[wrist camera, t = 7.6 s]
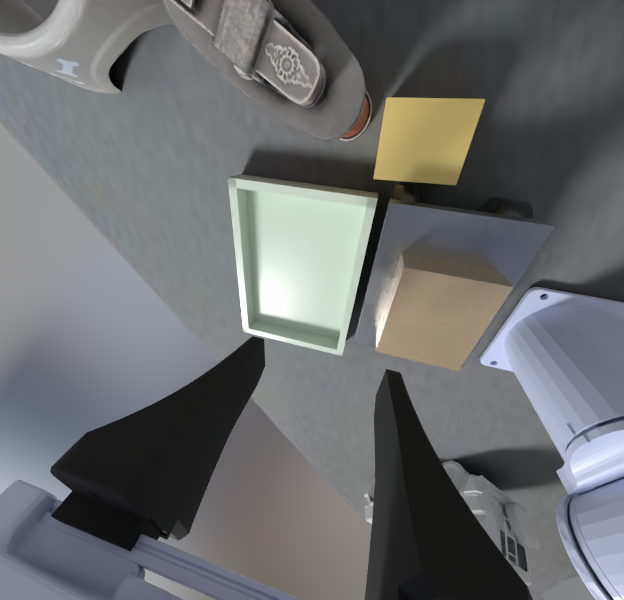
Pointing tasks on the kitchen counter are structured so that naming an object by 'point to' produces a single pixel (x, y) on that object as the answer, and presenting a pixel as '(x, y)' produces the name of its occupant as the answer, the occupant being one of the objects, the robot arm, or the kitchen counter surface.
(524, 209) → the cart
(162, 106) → the kitchen counter surface
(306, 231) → the tray
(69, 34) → the dog bowl
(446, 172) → the block
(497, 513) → the toy car
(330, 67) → the lighter
